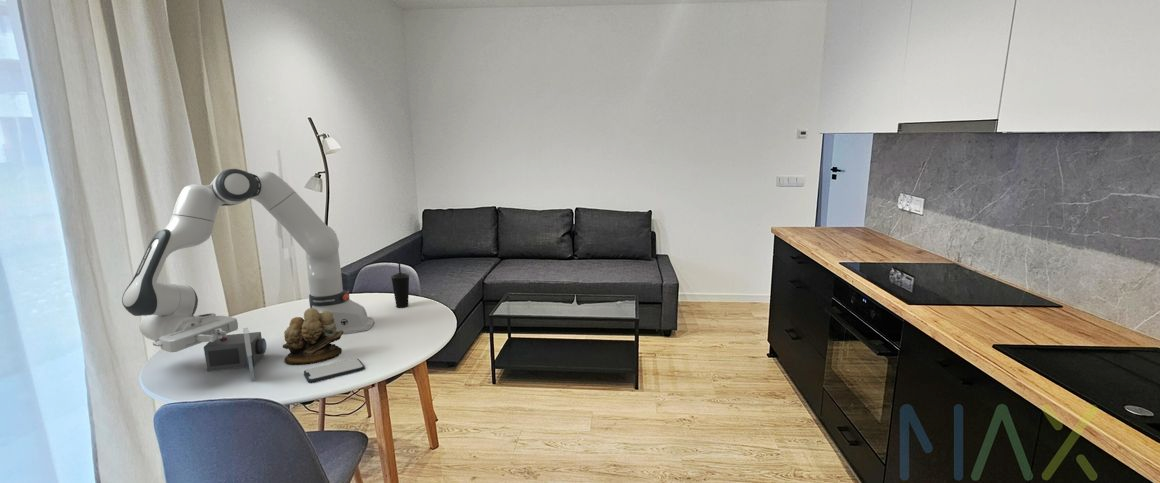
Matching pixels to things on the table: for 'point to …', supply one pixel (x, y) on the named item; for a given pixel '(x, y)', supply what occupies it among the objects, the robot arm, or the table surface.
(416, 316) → the table surface
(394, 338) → the table surface
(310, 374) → the phone case
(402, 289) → the drinking cup
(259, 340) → the camera body
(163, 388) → the table surface
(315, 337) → the owl figurine
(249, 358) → the side door
